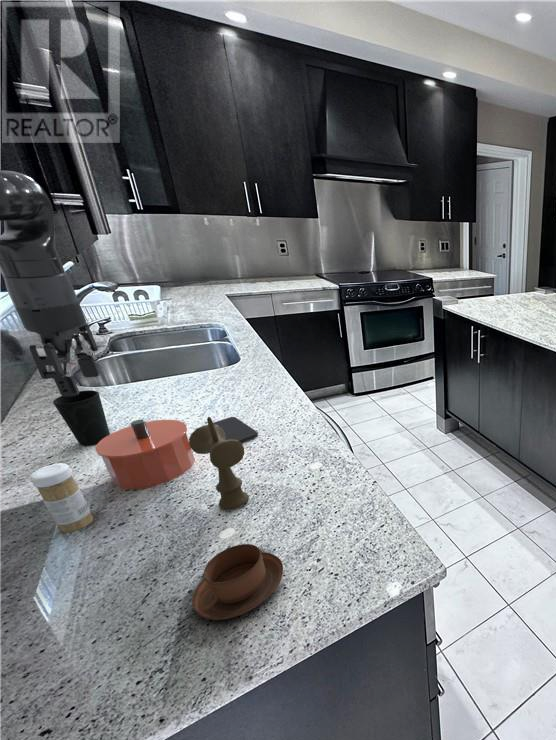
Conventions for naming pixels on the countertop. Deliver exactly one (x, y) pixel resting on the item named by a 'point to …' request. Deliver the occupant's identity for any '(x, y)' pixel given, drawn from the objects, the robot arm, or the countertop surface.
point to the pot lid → (141, 438)
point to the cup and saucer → (236, 582)
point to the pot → (151, 466)
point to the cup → (84, 416)
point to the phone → (236, 429)
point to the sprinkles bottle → (62, 497)
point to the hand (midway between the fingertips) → (82, 385)
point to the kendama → (221, 462)
